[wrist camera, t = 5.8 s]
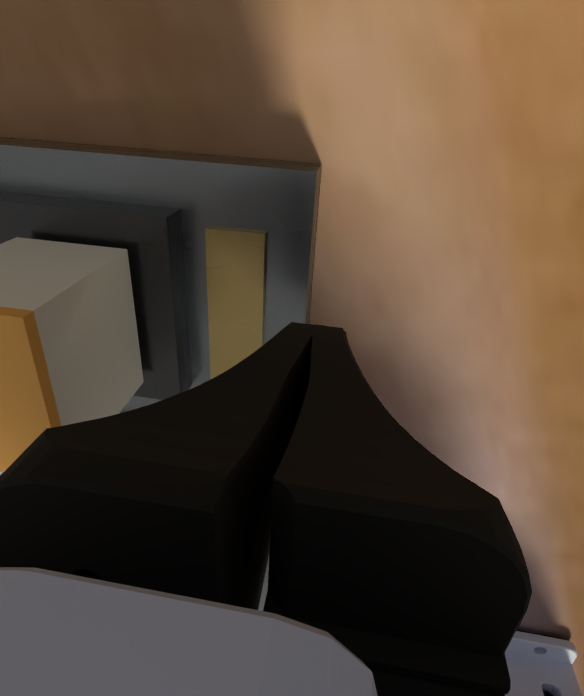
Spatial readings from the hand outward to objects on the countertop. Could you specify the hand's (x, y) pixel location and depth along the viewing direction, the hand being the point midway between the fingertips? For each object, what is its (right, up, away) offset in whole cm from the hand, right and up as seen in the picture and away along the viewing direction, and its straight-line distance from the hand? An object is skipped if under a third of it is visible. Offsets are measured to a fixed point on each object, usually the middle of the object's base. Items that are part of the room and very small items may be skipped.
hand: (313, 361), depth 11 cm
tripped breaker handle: (-6, +1, +1) cm, 7 cm away
